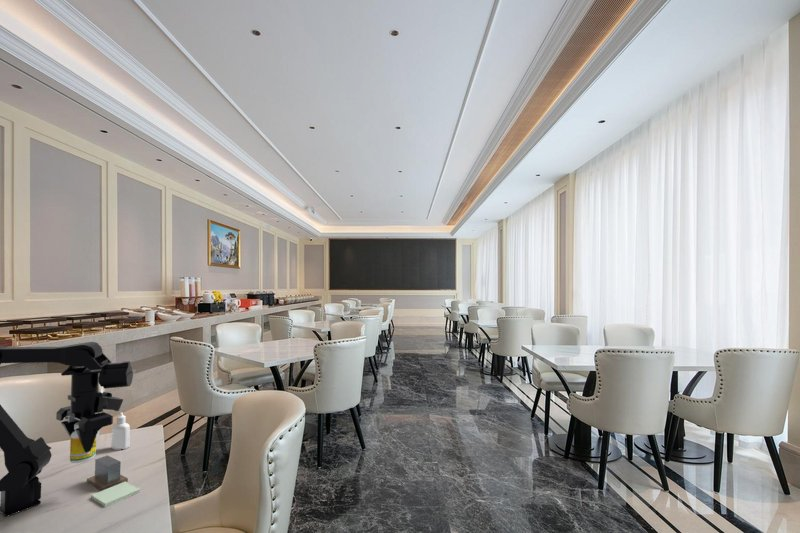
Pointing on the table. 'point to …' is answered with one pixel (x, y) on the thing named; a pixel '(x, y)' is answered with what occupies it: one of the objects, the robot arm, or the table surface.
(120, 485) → the sage pad
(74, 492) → the table surface
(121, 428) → the eye dropper bottle
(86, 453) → the supplement bottle
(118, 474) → the mounted unit
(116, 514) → the table surface
